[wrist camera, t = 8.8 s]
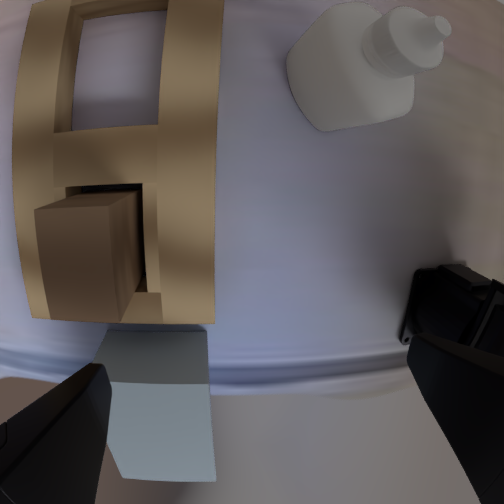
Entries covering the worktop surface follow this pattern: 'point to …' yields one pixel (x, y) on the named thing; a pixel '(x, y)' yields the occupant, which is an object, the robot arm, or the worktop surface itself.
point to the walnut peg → (91, 253)
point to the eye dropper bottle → (362, 64)
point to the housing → (159, 405)
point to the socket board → (126, 151)
